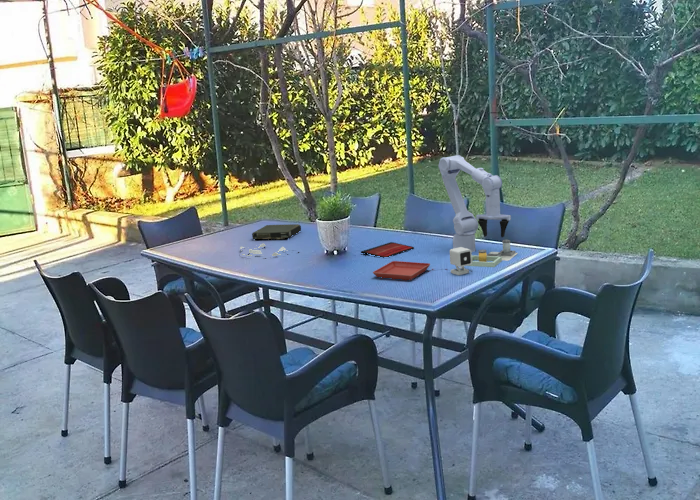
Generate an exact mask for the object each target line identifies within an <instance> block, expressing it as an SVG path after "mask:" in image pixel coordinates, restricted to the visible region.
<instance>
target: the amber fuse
mask: <svg viewBox="0 0 700 500" xmlns="http://www.w3.org/2000/svg"><path fill="white" fill-rule="evenodd" d="M477 251H478V256H479V261H480V262H488V261H487V254H488V253H487V249H479V250H477Z"/></svg>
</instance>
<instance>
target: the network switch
mask: <svg viewBox="0 0 700 500" xmlns="http://www.w3.org/2000/svg"><path fill="white" fill-rule="evenodd" d="M299 231H301V232H302V226H301V225H300V224H298V223H297V224H296V223H295V224H291V223H290V224H289V223H288V224H266V225H264V226H263V227H261V228H259V229H257V230H256V231H253V232H252V233H251V235H252V236H251V237H252V240H253V239H268V240H269V239H271V240H272V239H274V240H275V239H276V240H286V239H285V238H289V237H291V236H292V235H294V234H296V233H298V232H299ZM298 234H299V233H298ZM296 235H297V234H296ZM294 236H295V235H294ZM291 238H292V237H291Z"/></svg>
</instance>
